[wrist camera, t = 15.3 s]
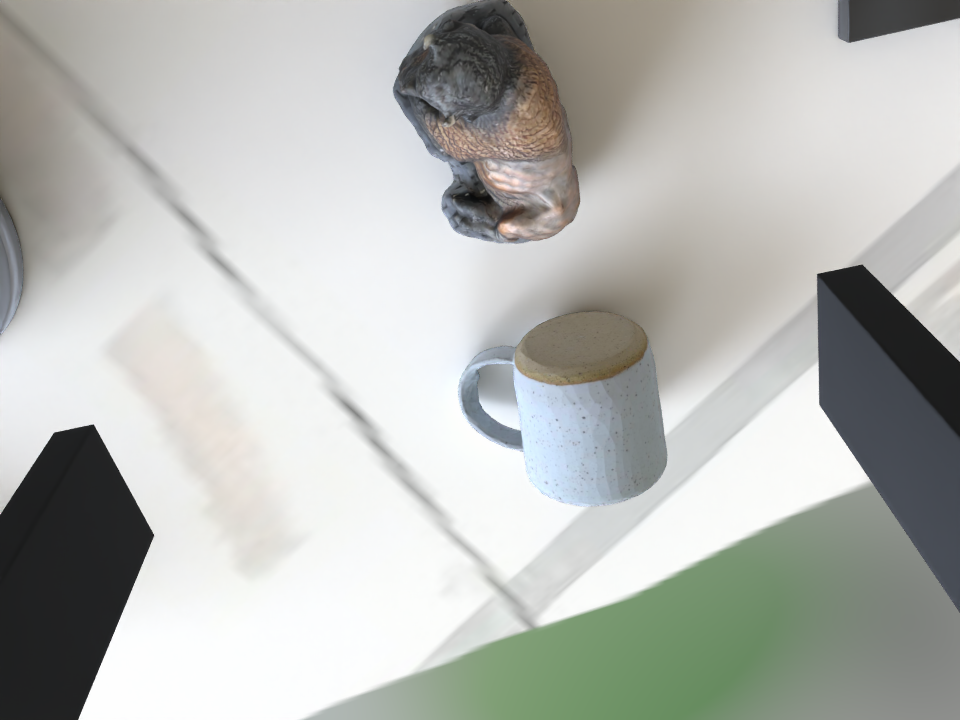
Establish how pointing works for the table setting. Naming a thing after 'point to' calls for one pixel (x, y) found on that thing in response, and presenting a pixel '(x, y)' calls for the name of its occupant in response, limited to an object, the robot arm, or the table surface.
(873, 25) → the stand
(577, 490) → the ceramic mug
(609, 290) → the table surface
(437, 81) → the brown animal-shaped figure
